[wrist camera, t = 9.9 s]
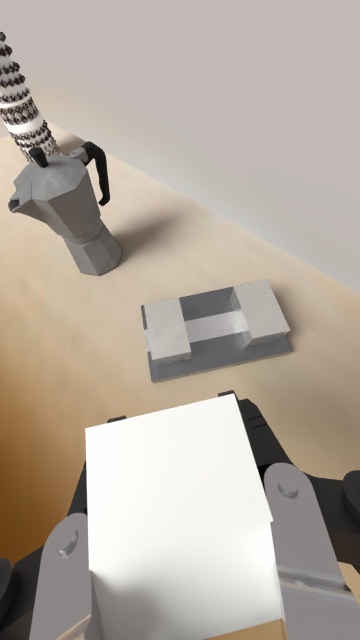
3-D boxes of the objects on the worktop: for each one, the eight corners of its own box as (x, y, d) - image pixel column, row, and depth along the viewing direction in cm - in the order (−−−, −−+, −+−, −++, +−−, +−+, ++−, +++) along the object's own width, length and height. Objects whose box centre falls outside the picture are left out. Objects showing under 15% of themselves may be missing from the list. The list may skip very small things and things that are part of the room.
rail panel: (259, 285, 35) (268, 267, 31) (288, 353, 31) (304, 343, 26) (142, 309, 35) (135, 294, 30) (153, 382, 30) (146, 377, 25)
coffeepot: (91, 293, 37) (9, 196, 20) (57, 269, 39) (-41, 166, 23) (147, 237, 41) (116, 121, 25) (112, 219, 44) (65, 103, 28)
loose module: (211, 404, 14) (234, 392, 6) (232, 483, 13) (302, 613, 4) (147, 419, 14) (84, 427, 6) (158, 501, 12) (90, 671, 4)
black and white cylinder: (68, 163, 53) (-25, -25, 30) (32, 175, 52) (-93, -11, 29) (60, 145, 57) (-30, -34, 34) (26, 157, 55) (-91, -23, 33)
